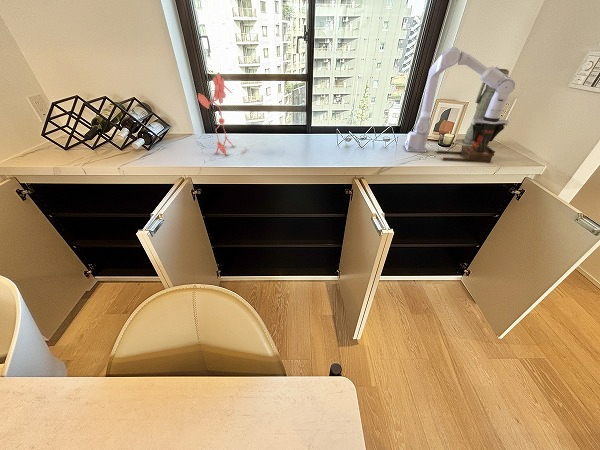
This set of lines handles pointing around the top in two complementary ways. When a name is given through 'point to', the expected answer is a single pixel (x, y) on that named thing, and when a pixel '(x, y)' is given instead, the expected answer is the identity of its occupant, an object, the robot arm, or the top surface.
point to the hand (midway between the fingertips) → (481, 140)
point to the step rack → (471, 154)
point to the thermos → (482, 106)
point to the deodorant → (484, 135)
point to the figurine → (219, 96)
